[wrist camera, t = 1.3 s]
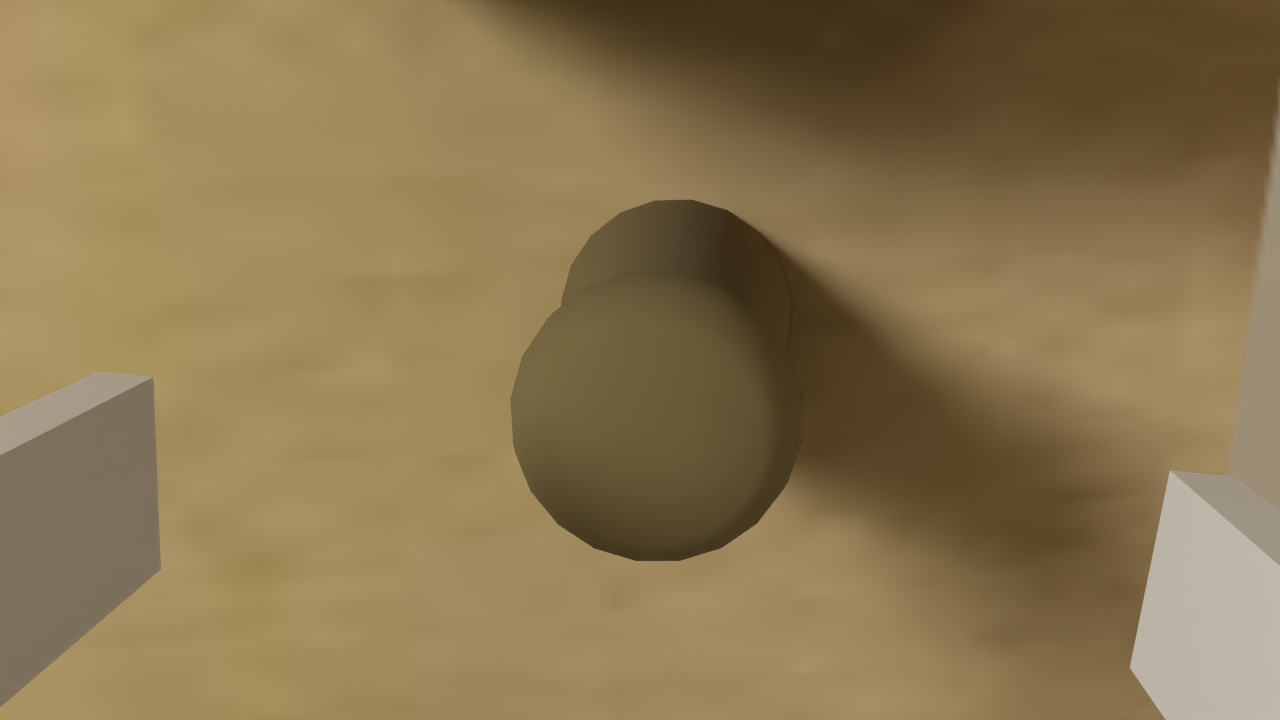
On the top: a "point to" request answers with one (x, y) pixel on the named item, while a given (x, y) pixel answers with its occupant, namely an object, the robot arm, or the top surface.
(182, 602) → the top surface
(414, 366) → the top surface
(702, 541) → the cork
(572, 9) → the top surface
